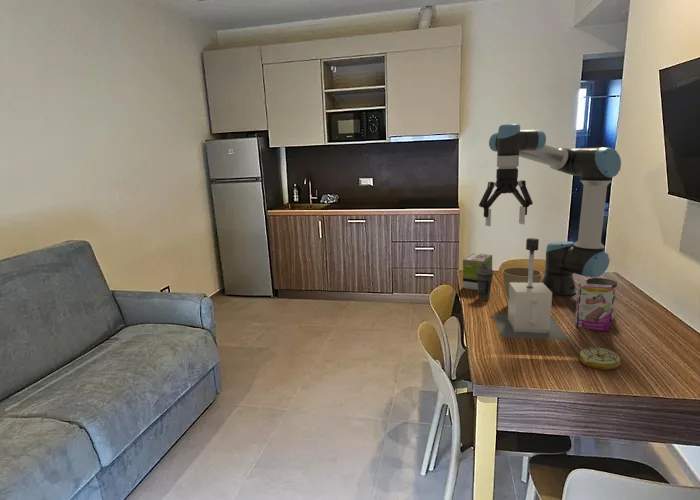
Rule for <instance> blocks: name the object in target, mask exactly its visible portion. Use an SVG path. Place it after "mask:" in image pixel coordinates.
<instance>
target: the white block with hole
mask: <svg viewBox="0 0 700 500" xmlns="http://www.w3.org/2000/svg"><path fill="white" fill-rule="evenodd" d="M552 301H553V294H552V292H551V291H550V290H549V289H548V288H547V287H546V286H545V285H544V283H541V282H540V283H533V284H532V288H528V283H517V282H509V301H508V306H507V307H508V308H507V315H508V321H509V323H510V325H511V327H512V329H513V331H514V332H531V333H550V319H551V317H552Z"/></svg>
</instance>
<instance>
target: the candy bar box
mask: <svg viewBox="0 0 700 500" xmlns="http://www.w3.org/2000/svg"><path fill="white" fill-rule="evenodd" d="M576 293H577V295H576V304H575V305H576V306H575V315H574V324H575V327H578V328H586V329H589V330H590V331H597V332H598V331H599V332H607V333H608V332H611V325H612V320H611V318H612V310H613V301H614V293H615V289H614V288H613V286H612V285H599V284H587V283H584V282H583V283H581V282H578V285H577V292H576Z"/></svg>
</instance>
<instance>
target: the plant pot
mask: <svg viewBox="0 0 700 500" xmlns="http://www.w3.org/2000/svg"><path fill="white" fill-rule="evenodd" d="M528 270H529V267H508V268H504V269H502V275H503V283H504V289H505V293H506V298H507V301H508V302H509V282H517V283H528ZM542 273H543V272H542V271H540V270H538V269H534V268H533V283H541V280H542V279H541V278H542Z"/></svg>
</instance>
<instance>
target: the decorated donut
mask: <svg viewBox="0 0 700 500" xmlns="http://www.w3.org/2000/svg"><path fill="white" fill-rule="evenodd" d="M579 360H580V362H581V363H582V364H583V365H585V366H586V367H590V368H591V369H597V370H603V371H611V370H615V369H617V368H618V367H619V366H620V365H621V358H620V356H619V355H618V354H617V353H616V352H614V351H612V350H611V349H607V348H604V347H603V348H602V347H588V348H584V349H582V350H581V351H580V352H579Z"/></svg>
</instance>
